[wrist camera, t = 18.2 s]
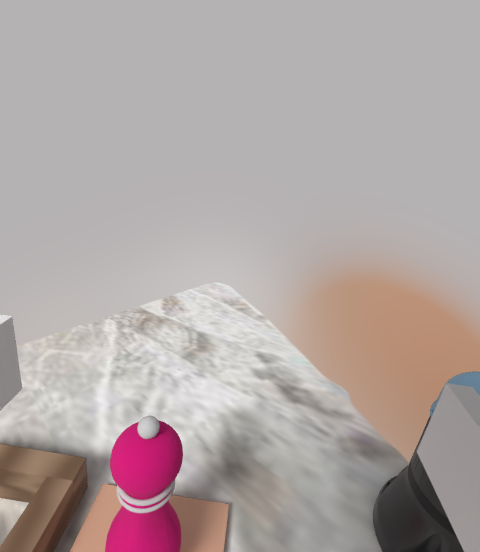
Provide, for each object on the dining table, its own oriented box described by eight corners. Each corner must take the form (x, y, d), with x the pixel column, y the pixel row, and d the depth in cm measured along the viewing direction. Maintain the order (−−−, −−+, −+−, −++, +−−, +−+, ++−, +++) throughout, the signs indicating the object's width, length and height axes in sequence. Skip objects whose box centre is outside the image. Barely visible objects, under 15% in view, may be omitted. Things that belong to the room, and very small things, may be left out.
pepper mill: (95, 557, 36) (88, 407, 28) (159, 518, 40) (168, 379, 33) (121, 633, 31) (121, 475, 23) (191, 578, 35) (210, 430, 28)
